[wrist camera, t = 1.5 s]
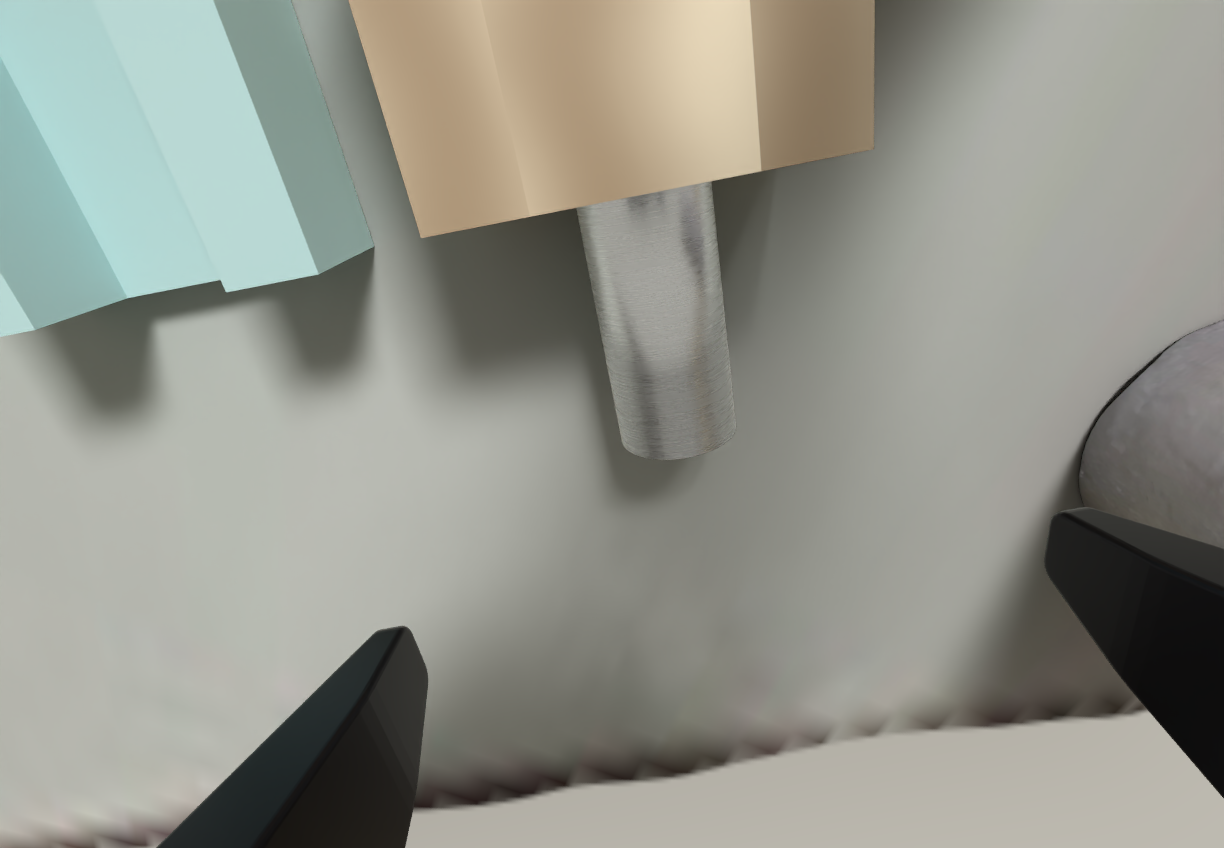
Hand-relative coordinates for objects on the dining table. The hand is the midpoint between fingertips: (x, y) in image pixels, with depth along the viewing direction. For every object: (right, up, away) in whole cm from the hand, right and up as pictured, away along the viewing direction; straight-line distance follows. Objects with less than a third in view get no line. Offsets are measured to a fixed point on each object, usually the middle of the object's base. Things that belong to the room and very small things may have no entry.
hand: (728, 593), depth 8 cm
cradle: (-14, +10, +8) cm, 19 cm away
